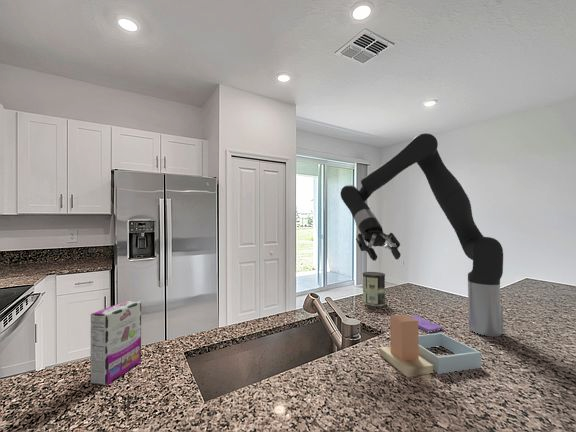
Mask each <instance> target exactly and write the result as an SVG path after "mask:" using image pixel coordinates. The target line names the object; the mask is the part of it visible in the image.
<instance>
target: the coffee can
mask: <svg viewBox="0 0 576 432" xmlns="http://www.w3.org/2000/svg"><path fill="white" fill-rule="evenodd" d="M385 276H386V274H385V273H384V272H378V271H364V272H362V302H363V303H362V304H363V305H366V306H371V307H384V306H386V277H385Z"/></svg>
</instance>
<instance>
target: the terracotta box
mask: <svg viewBox="0 0 576 432" xmlns="http://www.w3.org/2000/svg"><path fill="white" fill-rule="evenodd" d="M389 326H390V328H389V329H390V333H389V334H390V335H389V336H390V339H389V340H390V344H389V346H390V349H391V353H392V354H394V355H395V356H396V357H398V358H399V359H400V360H401V361H406V360H414V359H419V344H418V335H419V328H418V320H416V319H414V318H412V317H411V316H410V315H408V314H406V313H405V314H395V315H394V314H393V315H390V316H389Z"/></svg>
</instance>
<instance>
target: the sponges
mask: <svg viewBox="0 0 576 432" xmlns="http://www.w3.org/2000/svg"><path fill="white" fill-rule="evenodd" d="M410 317H412V318H414V319H416V320H418V329H419V328H421V329H424V330H427V331H429V332H430V331H433V330H438V329H442V328H443V329H444V326H443V325H439V324H437V323H433V322H432V321H429V320H427V319H424V318H422V317H420V316H417V315H411V316H410ZM421 329H420V330H421ZM424 330H423V331H424Z"/></svg>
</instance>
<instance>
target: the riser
mask: <svg viewBox="0 0 576 432" xmlns="http://www.w3.org/2000/svg"><path fill="white" fill-rule="evenodd" d="M379 355H380V356H381V357H382V358H383V359H385V361H387V362H388V363H389V364H391V366H393V367H394V368H395V369H397V370H398V372H400V373H401V374H402V375H404V376H405V377H406V378H411V377H418V375H419V376H425V374H426V375H431V374H430V373H433V374H434V371H433V365H432V364H431V363H429V362H428V361H426V360H425V359H423V358H422V357H420V356H419V359H414V360H406V361H401V360H400V359H399V358H398V357H396V356H395V355H394V354H392V353H391V349H390V345H388V346H381V347H379Z"/></svg>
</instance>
